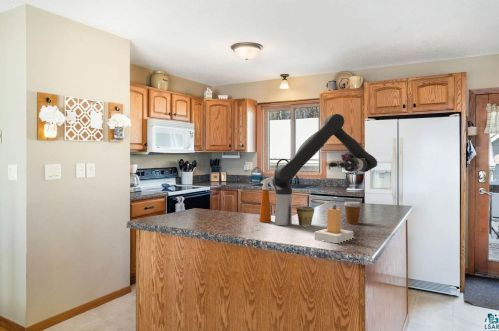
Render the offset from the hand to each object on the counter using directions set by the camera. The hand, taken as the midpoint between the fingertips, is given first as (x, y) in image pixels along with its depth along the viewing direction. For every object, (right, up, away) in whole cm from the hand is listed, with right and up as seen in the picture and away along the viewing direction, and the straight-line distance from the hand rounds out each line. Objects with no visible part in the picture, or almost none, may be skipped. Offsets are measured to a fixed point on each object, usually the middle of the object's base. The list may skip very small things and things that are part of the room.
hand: (337, 165), depth 181 cm
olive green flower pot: (-15, -34, +13) cm, 39 cm away
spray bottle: (-35, -33, +22) cm, 53 cm away
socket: (-6, -35, -18) cm, 40 cm away
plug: (-6, -35, -18) cm, 40 cm away
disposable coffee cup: (+13, -34, +19) cm, 41 cm away
